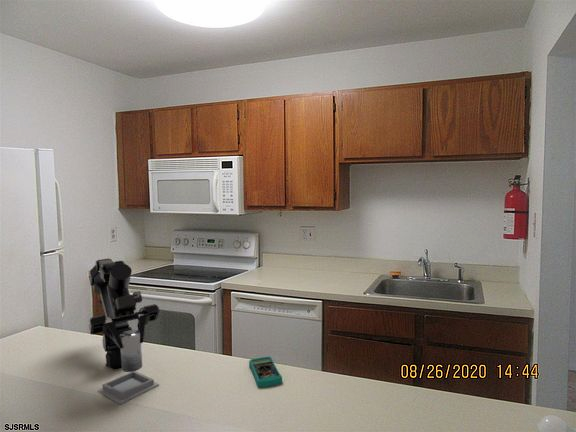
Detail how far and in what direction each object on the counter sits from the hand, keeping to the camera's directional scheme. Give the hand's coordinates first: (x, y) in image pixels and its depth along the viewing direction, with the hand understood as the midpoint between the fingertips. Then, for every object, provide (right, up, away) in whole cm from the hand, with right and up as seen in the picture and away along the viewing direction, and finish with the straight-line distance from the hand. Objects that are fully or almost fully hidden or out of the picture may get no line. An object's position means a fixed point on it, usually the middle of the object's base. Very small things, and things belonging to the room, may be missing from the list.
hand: (131, 345), depth 116 cm
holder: (-2, -14, +3) cm, 14 cm away
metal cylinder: (-1, -7, +2) cm, 7 cm away
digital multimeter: (+37, -12, +9) cm, 40 cm away
